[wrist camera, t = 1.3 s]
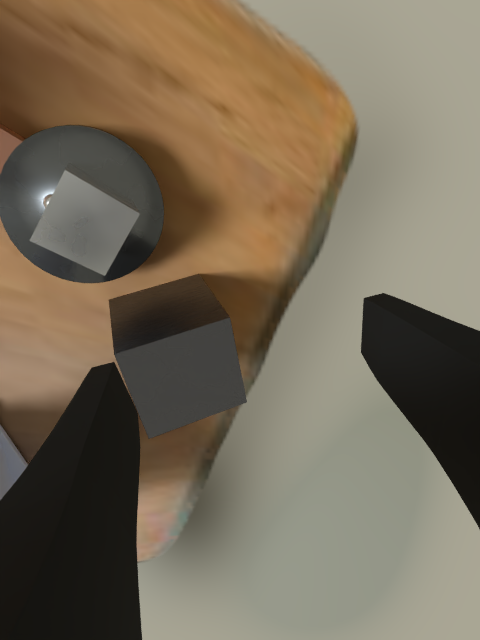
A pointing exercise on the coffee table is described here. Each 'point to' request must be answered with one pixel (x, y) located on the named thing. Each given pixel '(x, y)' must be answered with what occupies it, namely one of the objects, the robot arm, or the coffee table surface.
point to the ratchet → (78, 202)
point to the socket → (176, 354)
